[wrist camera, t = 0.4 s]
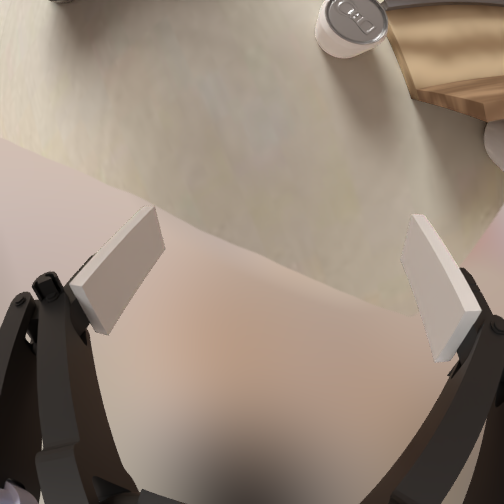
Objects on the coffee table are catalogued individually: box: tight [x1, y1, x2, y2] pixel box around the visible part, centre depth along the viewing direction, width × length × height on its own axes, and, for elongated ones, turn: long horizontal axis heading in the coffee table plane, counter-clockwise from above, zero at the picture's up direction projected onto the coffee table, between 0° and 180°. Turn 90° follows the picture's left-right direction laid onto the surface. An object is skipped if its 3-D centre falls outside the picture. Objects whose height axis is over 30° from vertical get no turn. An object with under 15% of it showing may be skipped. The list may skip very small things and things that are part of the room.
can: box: [315, 0, 388, 58], centre depth 21 cm, size 6×6×12 cm
